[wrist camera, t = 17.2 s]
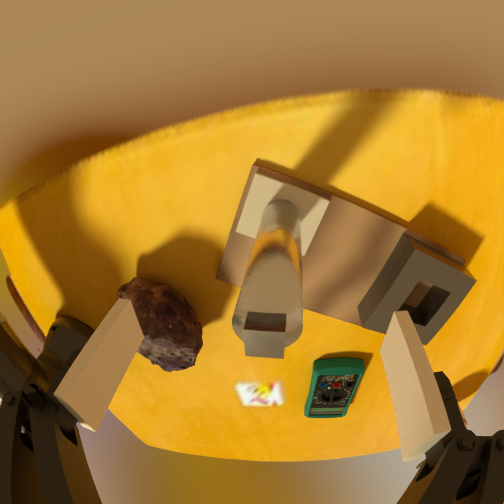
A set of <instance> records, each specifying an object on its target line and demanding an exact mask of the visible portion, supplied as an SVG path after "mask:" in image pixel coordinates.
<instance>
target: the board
mask: <svg viewBox="0 0 504 504" xmlns="http://www.w3.org/2000/svg"><path fill="white" fill-rule="evenodd" d="M256 172H258V173H260V174H263V175H266V176H269V177H272V178H274V179H277V180H280V181H283V182H285V183H288V184H291V185H293V186H296V187H299V188H301V189H304V190H306V191H309V192H312V193H314V194H317V195H319V196H322V197H324V198H326V199H329V201H330V202H329V204H328V206H327V209H326V211H325V213H324V215H323V217H322V220H321V222H320V224H319V226H318V228H317V230H316V232H315V235H314V237H313V239H312V241H311V243H310V245H309V247H308V249H307V251H306V253H305V255H304V256H302V301H303V308H304V309H307V310H310V311H313V312H317V313H320V314H323V315H326V316H329V317H333V318H336V319H339V320H342V321H346V322H349V323H352V324H356V325H359V326H362V325H361V321H360V316H359V312H358V308H357V306H358V305H359V303H360V302H361V300H362V299H363V298H364V296H365V295H366V293H367V291H368V290H369V288H370V287H371V285H372V284H373V282H374V281H375V279H376V278H377V276H378V274H379V273H380V271H381V270H382V268H383V266H384V265H385V263H386V261H387V260H388V258H389V256H390V255H391V253H392V251H393V250H394V248H395V246H396V245H397V243H398V241H399V239H400V237H401V236H402V234H403V233H405V234H407V235H409V236H411V237H413V238H415V239H417V240H419V241H421V242H423V243H425V244H427V245H429V246H431V247H433V248H434V249H436V250H438V251H440V252H442V253H444V254H446V255H448V256H449V257H451V258H453V259H455V260H457V261H459V262H460V263H462V264H464V263H465V259H464V258H462V257H461V256H459V255H457V254H455V253H454V252H452V251H450V250H448V249H446V248H445V247H443V246H441V245H439V244H437V243H435V242H434V241H432V240H430V239H428V238H426V237H424V236H422V235H420V234H418V233H416V232H414V231H412V230H410V229H408V228H406V227H404V226H402V225H400V224H398V223H396V222H394V221H392V220H390V219H388V218H386V217H384V216H382V215H380V214H377V213H375V212H373V211H371V210H369V209H367V208H364V207H362V206H360V205H358V204H355V203H353V202H351V201H349V200H346V199H344V198H342V197H339V196H337V195H334V194H332V193H330V192H327V191H325V190H322V189H320V188H317V187H315V186H312V185H310V184H307V183H305V182H302V181H300V180H297V179H294V178H292V177H289V176H286V175H284V174H281V173H278V172H275V171H273V170H270V169H267V168H264V167H261V166H258V165H255V164H253V165H252V168H251V171H250V174H249V177H248V180H247V183H246V186H245V189H244V192H243V195H242V198H241V201H240V204H239V207H238V210H237V213H236V216H235V219H234V222H233V226H232V229H231V232H230V235H229V238H228V241H227V244H226V248H225V251H224V254H223V257H222V260H221V264H220V267H219V270H218V273H217V277H216V279H219V280H221V281H224V282H227V283H230V284H233V285H236V286H238V287H242V284H243V280H244V277H245V273H246V270H247V266H248V263H249V259H250V256H251V253H252V249H253V246H254V242H255V238H252V237H249V236H246V235H243V234H241V233H238V232H236V229H237V226H238V223H239V220H240V217H241V214H242V211H243V208H244V205H245V202H246V199H247V196H248V193H249V190H250V187H251V184H252V181H253V178H254V175H255V173H256ZM432 286H433V284H430V283H428V282H426V281H423V280H421V279H420V280H419V281H418V283H417V284H416V286H415V287H414V289H413V290H412V292H411V293H410V294H409V296H408V297H407V299H406V300H405V301H404V303H405V304H408V305H411V306H413V307H416V308H417V306H418V305H419V304H420V302H421V301H422V300H423V298H424V297H425V296H426V294H427V293H428V291H429V290H430V288H431V287H432Z"/></svg>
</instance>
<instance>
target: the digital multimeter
mask: <svg viewBox="0 0 504 504" xmlns="http://www.w3.org/2000/svg"><path fill="white" fill-rule="evenodd" d="M364 372H365V366H364V361H363V360H361V359H353V358H331V359H322V360H316V361H314V362H313V372H312V379H311V386H310V390H309V394H308V398H307V401H306V404H305V412H304V415H305V416H306V417H309V418H335V417H343V416H344V415H346V413H347V410H348V407H349V405H350V402H351V400H352V397H353V395H354V392H355V390H356V388H357V386H358V384H359V382H360V380H361V378H362V376H363V374H364ZM316 383H317V384H316ZM324 401H325V402H324Z"/></svg>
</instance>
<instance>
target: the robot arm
mask: <svg viewBox="0 0 504 504" xmlns="http://www.w3.org/2000/svg"><path fill="white" fill-rule="evenodd" d="M6 320H7V319H6V317H4V316H3V315H2V314H1V312H0V504H102V502H101V500H100V497H99V495H98V492H97V489H96V487H95V484H94V481H93V479H92V476H91V473H90V470H89V467H88V464H87V460H86V457H85V453H84V450H83V446H82V442H81V439H80V435H79V430H78V428H77V426H76V423H77V421H78V422H79V423H80V424H81V425H82V426H83V427H85V428H87V429H90V430H92V431H94V432H96V431H97V429H98V427H99V425H100V422H101V420H102V418H103V416H104V414H105V412H106V410H107V408H108V406H109V404H110V402H111V400H112V398H113V396H114V394H115V392H116V390H117V388H118V386H119V384H120V382H121V380H122V378H123V376H124V374H125V372H126V370H127V368H128V367H129V365H130V363H131V361H132V359H133V357H134V355H135V353H136V351H137V350H138V348H139V346H140V344H141V342H142V340H143V339H144V335H143V333H142V330H141V328H140V325H139V322H138V320H137V317H136V314H135V311H134V308H133V306H132V303H131V300H128V299H120V298H119V299H118V300H117V302H116V303H115V304H114V306H113V307H112V308H111V310H110V311H109V312H108V314H107V315H106V316H105V318H104V319H103V321H102V322H101V323H100V325H99V326H98V327H97V329H96V330H95V332H94V331H93V330H92V329H90V328H89V327H88V326H86V325H85V324H83V323H82V322H80V321H78V320H76V319H74V318H71V317H68V316H60V317H58V318H57V319H56V320H55V321H54V322H53V324H52V325H51V327H50V329H49V332H48V335H47V338H46V341H45V344H44V347H43V350H42V352H41V354H40V355H39V357H38V358H37V359H36V358H35V357H34V356H33V355H32V353H31V352H30V351H29V350H28V349H27V348H26V347H25V345H24V344H23V343H22V341H21V340H20V339H19V337H18V336H17V335H16V333H15V332H14V331H13V329H12V328H11V326H10V325H9V324H8V322H7V321H6ZM380 353H381V356H382V360H383V364H384V368H385V372H386V376H387V380H388V384H389V388H390V393H391V397H392V402H393V407H394V411H395V416H396V422H397V427H398V432H399V438H400V444H401V450H402V457H403V462H405V461H409V460H414V459H418V458H420V457H421V456H422V455H423V454H425V455H426V459H425V460H424V461H422V462H421V463H420V464H419V465H418V466H417V467H416V468H417V469H418V468H419V467H420V469H419V470H418V472H417V474H416V476H415V477H414V479H413V480H412V482H411V483H410V485H409V486H408V488H407V490H406V491H405V492H404V494H403V495H402V497H401V498H400V500H399V501H398V502H397V504H503V502H504V430H499V431H498V432H496V433H495V434H494V435H493V436H475V434H474V433H473V432H472V431H470V430H467V429H466V427H465V424H464V421H463V418H462V415H461V412H460V409H459V406H458V403H457V400H456V399H455V394H454V391H453V388H452V386H451V383H450V380H449V379H448V377H447V376H446V375H445V374H444V373H443V372H442V371H440V372H434V373H433V371H432V368H431V366H430V363H429V360H428V358H427V355H426V353H425V350H424V348H423V345H422V343H421V340H420V338H419V336H418V333H417V331H416V329H415V326H414V324H413V322H412V319H411V317H410V315H409V313H408V311H394V313H393V316H392V319H391V322H390V324H389V327H388V330H387V333H386V335H385V338H384V341H383V343H382V346H381V348H380Z"/></svg>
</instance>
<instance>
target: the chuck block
mask: <svg viewBox="0 0 504 504" xmlns="http://www.w3.org/2000/svg"><path fill="white" fill-rule="evenodd" d="M420 279H421V280H423V281H426V282H428V283H430V284H433V286H432V287H431V288H430V290H429V291H428V293H427V294H426V296H425V297H424V298H423V300H422V301H421V302H420V304H419V305H418V306H417V308H416V307H413V306H411V305H408V304H405V303H404V301H405V300H406V299H407V297H408V296H409V294H410V293H411V292H412V290H413V289H414V287H415V286H416V284H417V283H418V281H419V280H420ZM475 282H476V279H475V278H474V277H473V275H472V274H471V273H470V272H469V270H468V269H467V268H466V267H465V265H464V264H462V263H460V262H459V261H457V260H455V259H453V258H451V257H449V256H448V255H446V254H444V253H442V252H440V251H438V250H436V249H434V248H433V247H431V246H429V245H427V244H425V243H423V242H421V241H419V240H417V239H415V238H413V237H411V236H409V235H407V234H405V233H403V234H402V236H401V237H400V239H399V241H398V243H397V245H396V246H395V248H394V250H393V251H392V253H391V255H390V256H389V258H388V260H387V261H386V263H385V265H384V266H383V268H382V270H381V271H380V273H379V274H378V276H377V278H376V279H375V281H374V282H373V284H372V285H371V287H370V288H369V290H368V291H367V293H366V295H365V296H364V298H363V299H362V300H361V302H360V303H359V305H358V306H357V308H358V312H359V316H360V321H361V325H362V327H363V328H366V329H369V330H373V331H376V332H380V333H383V334H386V333H387V330H388V327H389V324H390V322H391V319H392V316H393V313H394V311H408V313H409V315H410V317H411V319H412V322H413V324H414V326H415V329H416V331H417V333H418V336H419V338H420V340H421V343H422V344H423V345H427V344H428V343H429V342H430V340H431V339H432V338H433V337H434V336H435V335H436V334H437V332H438V331H439V330H440V329H441V328H442V326H443V325H444V324H445V323H446V322H447V320H448V319H449V318H450V317H451V315H452V314H453V313H454V311H455V310H456V309H457V308H458V306H459V305H460V304H461V302H462V301H463V300H464V298H465V297H466V295H467V294H468V293H469V291H470V290H471V288H472V287H473V285H474V284H475Z"/></svg>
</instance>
